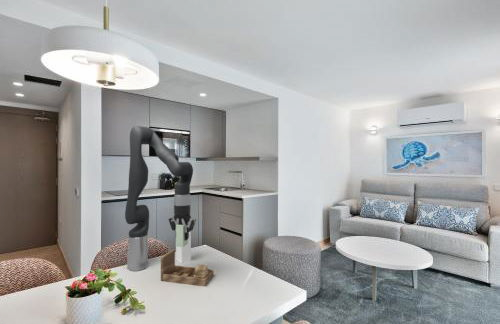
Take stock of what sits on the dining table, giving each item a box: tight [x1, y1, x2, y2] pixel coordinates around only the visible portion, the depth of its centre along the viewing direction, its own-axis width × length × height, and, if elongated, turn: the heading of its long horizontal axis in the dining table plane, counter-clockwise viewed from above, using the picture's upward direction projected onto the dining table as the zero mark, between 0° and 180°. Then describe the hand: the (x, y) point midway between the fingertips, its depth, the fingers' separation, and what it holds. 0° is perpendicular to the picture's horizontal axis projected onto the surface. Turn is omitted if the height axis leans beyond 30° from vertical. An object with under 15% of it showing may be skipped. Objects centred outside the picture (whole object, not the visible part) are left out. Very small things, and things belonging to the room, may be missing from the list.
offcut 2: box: [194, 271, 209, 279], centre depth 116 cm, size 5×6×3 cm
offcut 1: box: [195, 264, 209, 276], centre depth 116 cm, size 4×5×3 cm
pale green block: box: [175, 224, 188, 248], centre depth 119 cm, size 4×5×10 cm
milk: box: [175, 231, 192, 264], centre depth 140 cm, size 6×6×22 cm
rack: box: [160, 249, 215, 287], centre depth 118 cm, size 22×11×12 cm, turn 76°
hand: (182, 239), depth 119 cm, fingers closed on pale green block, 3 cm apart
